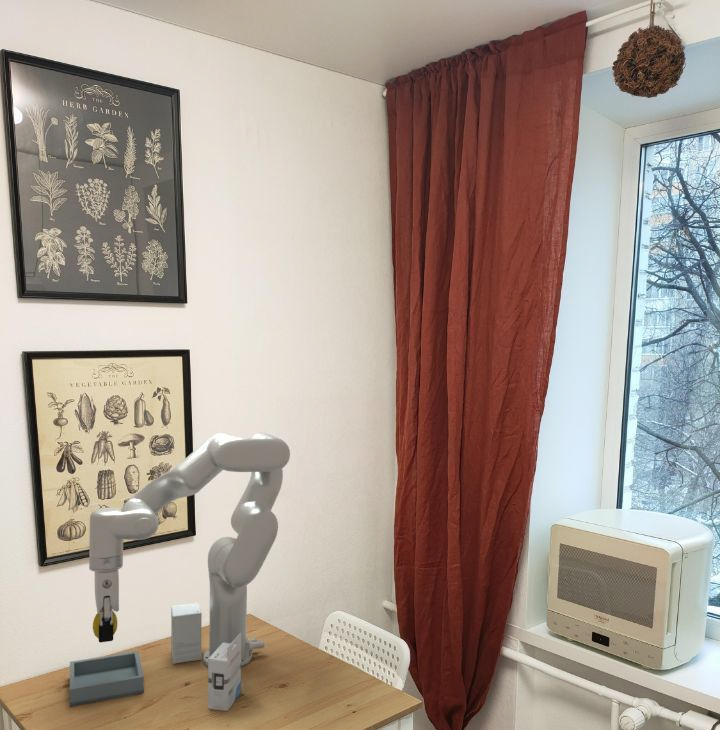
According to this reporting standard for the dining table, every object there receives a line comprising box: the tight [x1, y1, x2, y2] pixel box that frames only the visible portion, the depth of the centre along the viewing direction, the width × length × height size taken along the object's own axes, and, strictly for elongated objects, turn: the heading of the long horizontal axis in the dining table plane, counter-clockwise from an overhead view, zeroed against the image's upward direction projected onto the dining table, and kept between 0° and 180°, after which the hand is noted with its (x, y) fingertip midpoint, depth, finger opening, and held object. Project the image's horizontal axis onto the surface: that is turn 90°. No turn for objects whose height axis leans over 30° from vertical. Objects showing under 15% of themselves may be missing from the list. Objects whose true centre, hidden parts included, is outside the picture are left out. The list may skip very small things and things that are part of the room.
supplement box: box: [170, 602, 203, 665], centre depth 178 cm, size 7×7×13 cm
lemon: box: [92, 609, 118, 640], centre depth 162 cm, size 6×6×8 cm
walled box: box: [69, 650, 145, 708], centre depth 162 cm, size 16×14×4 cm
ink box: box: [207, 633, 242, 712], centre depth 156 cm, size 9×5×15 cm, turn 168°
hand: (105, 634), depth 162 cm, fingers closed on lemon, 5 cm apart
